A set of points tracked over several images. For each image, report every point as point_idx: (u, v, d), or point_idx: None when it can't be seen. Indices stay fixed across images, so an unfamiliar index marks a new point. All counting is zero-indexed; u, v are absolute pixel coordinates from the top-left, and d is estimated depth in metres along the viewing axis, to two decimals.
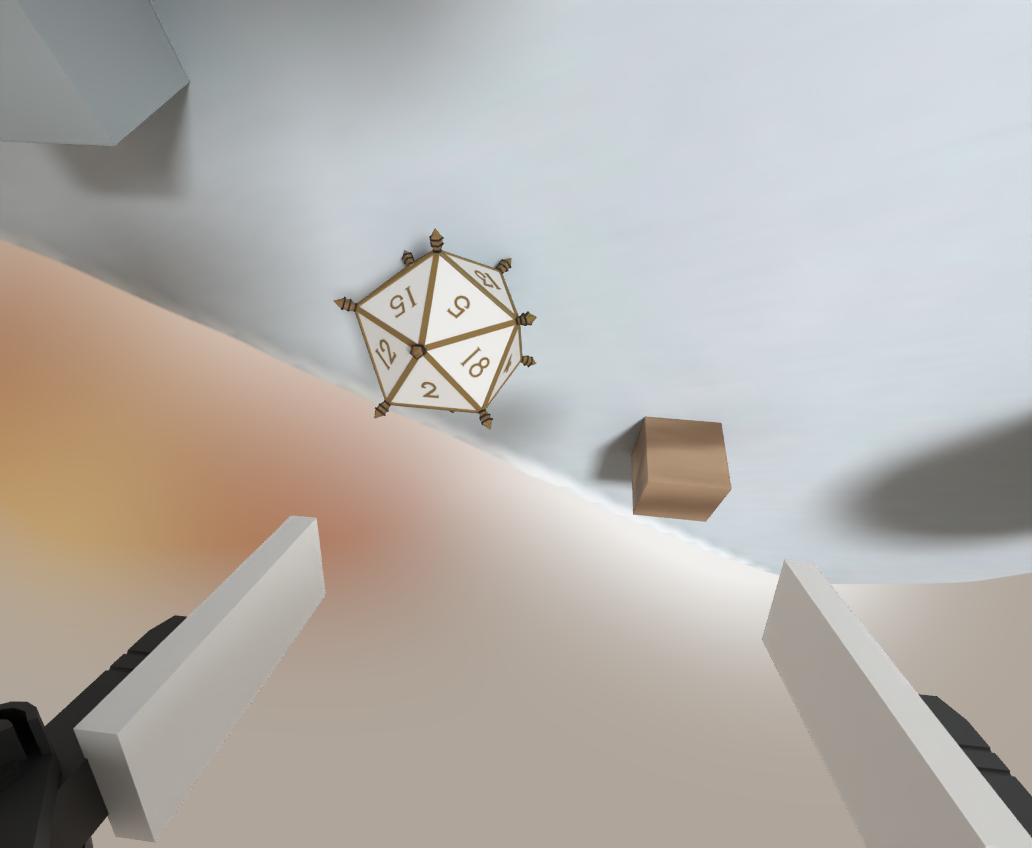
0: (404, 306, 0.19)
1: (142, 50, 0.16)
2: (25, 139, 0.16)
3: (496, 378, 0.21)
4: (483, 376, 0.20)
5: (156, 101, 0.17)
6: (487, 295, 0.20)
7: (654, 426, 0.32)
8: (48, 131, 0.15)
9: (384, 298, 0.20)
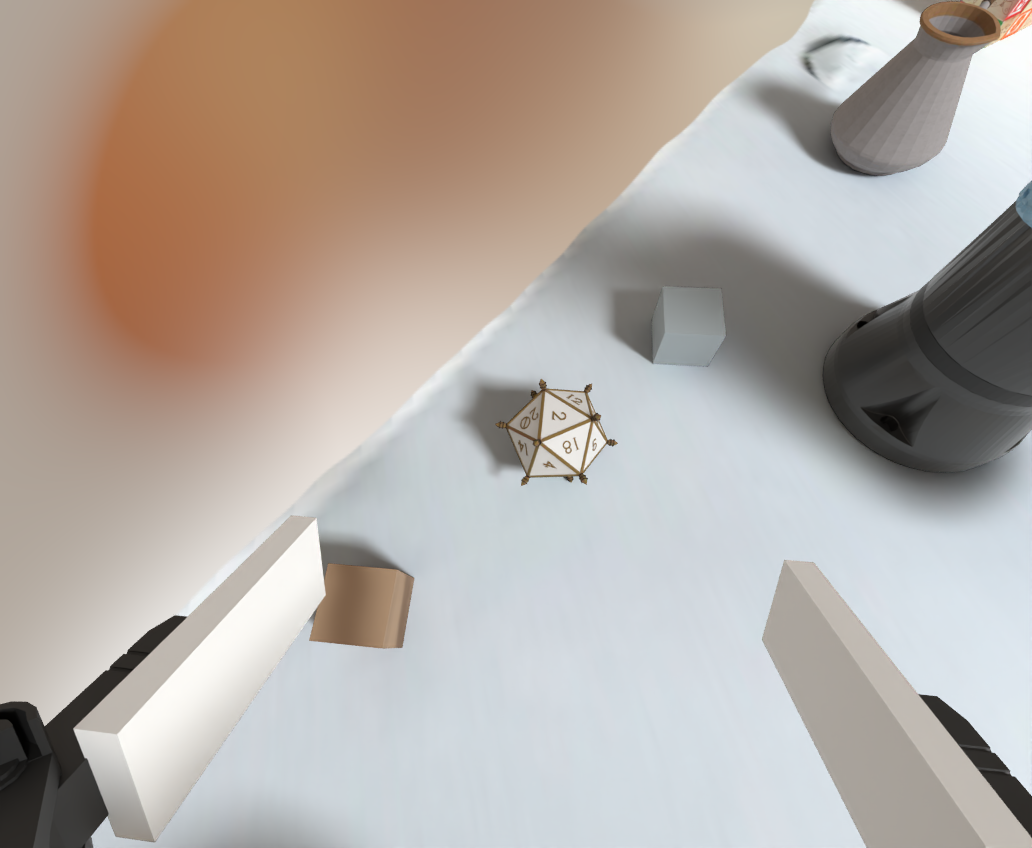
0: None
1: (672, 355, 0.43)
2: (664, 303, 0.42)
3: (555, 455, 0.35)
4: (560, 448, 0.35)
5: (660, 351, 0.43)
6: (592, 461, 0.37)
7: (410, 584, 0.37)
8: (668, 313, 0.41)
9: (592, 408, 0.38)
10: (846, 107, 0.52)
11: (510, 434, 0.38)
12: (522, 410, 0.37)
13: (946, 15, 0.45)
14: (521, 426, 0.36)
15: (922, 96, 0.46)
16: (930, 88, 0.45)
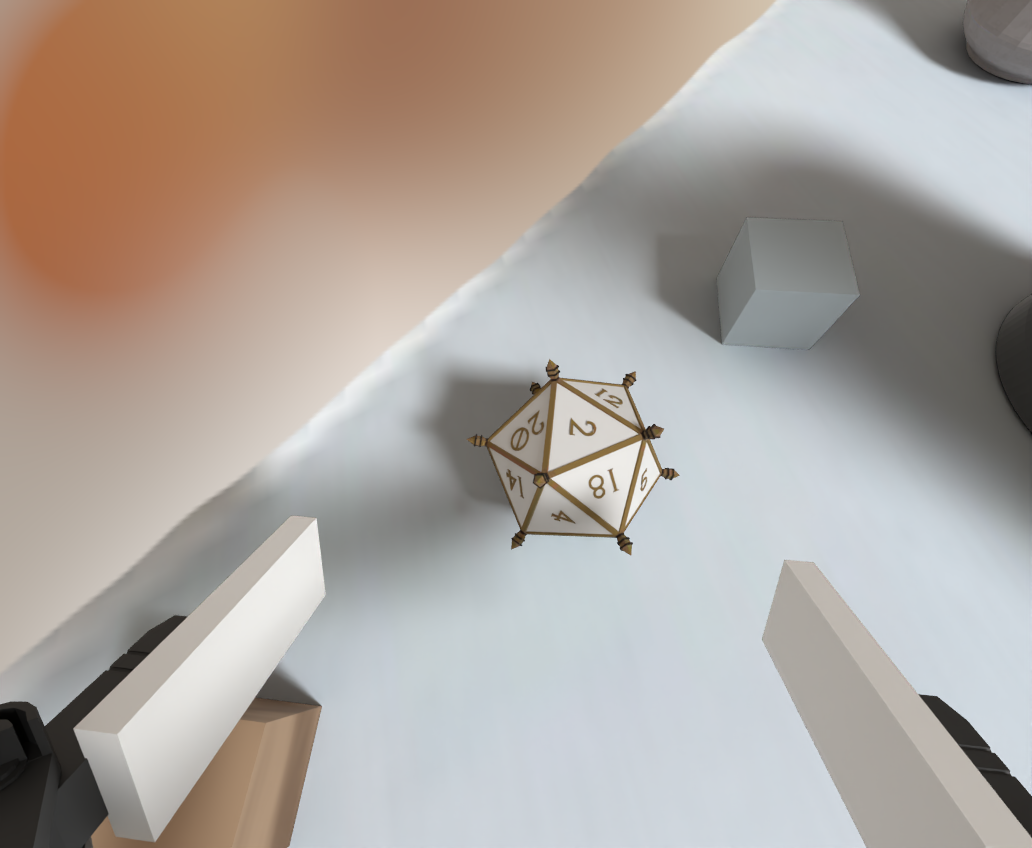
0: None
1: (757, 331, 0.27)
2: (751, 244, 0.25)
3: (575, 502, 0.19)
4: (584, 488, 0.19)
5: (739, 322, 0.27)
6: (638, 509, 0.20)
7: (311, 722, 0.21)
8: (759, 259, 0.25)
9: None
10: None
11: (493, 458, 0.21)
12: (515, 416, 0.21)
13: None
14: (512, 445, 0.20)
15: None
16: None
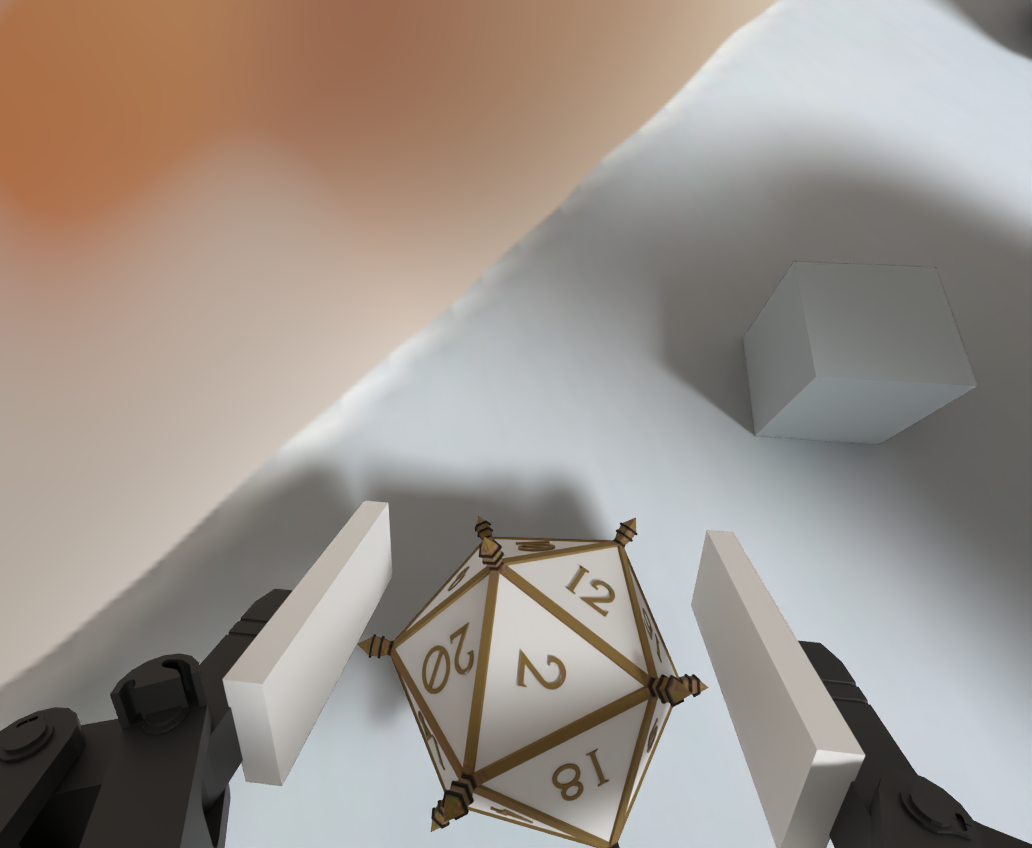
0: (651, 636, 0.12)
1: (809, 423, 0.19)
2: (804, 303, 0.17)
3: (528, 813, 0.10)
4: (545, 787, 0.10)
5: (783, 413, 0.18)
6: (643, 777, 0.12)
7: None
8: (817, 327, 0.17)
9: (639, 596, 0.13)
10: None
11: (402, 676, 0.13)
12: (433, 616, 0.12)
13: None
14: (426, 676, 0.12)
15: None
16: None
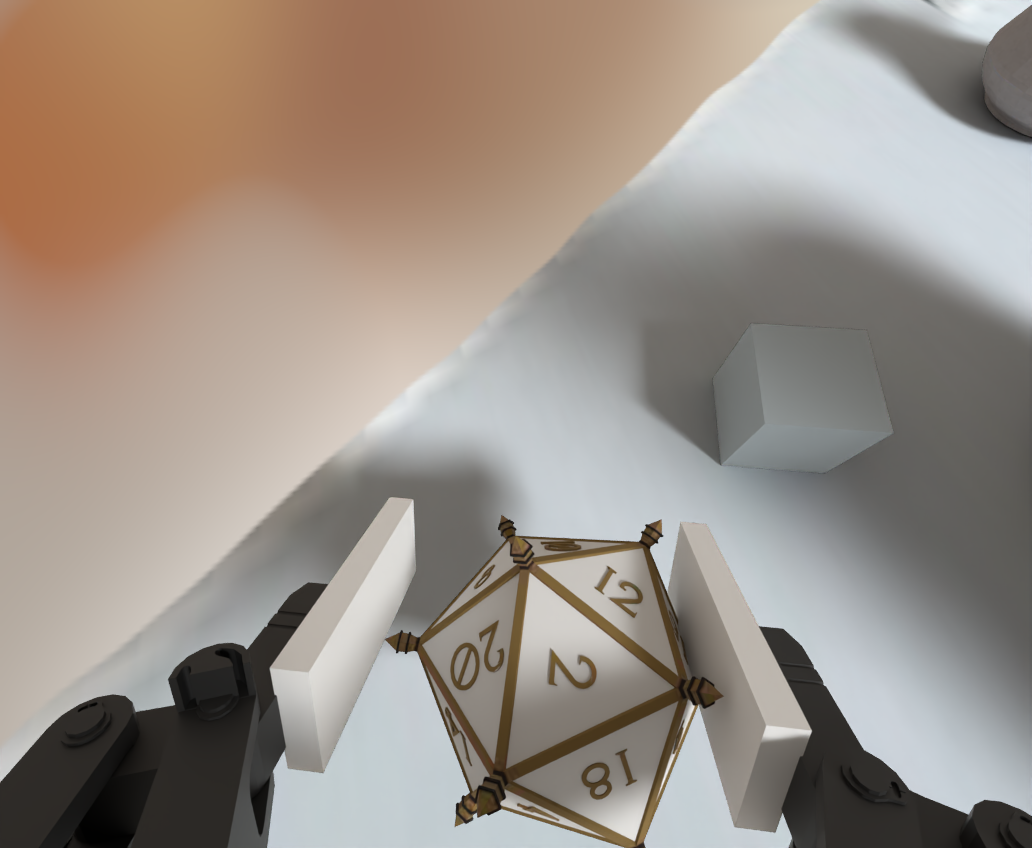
0: (677, 638, 0.12)
1: (764, 456, 0.22)
2: (758, 360, 0.21)
3: (557, 811, 0.10)
4: (574, 786, 0.10)
5: (742, 449, 0.22)
6: (668, 778, 0.12)
7: None
8: (768, 381, 0.20)
9: (665, 598, 0.13)
10: (1022, 28, 0.31)
11: (428, 672, 0.13)
12: (461, 613, 0.12)
13: None
14: (454, 672, 0.12)
15: None
16: None
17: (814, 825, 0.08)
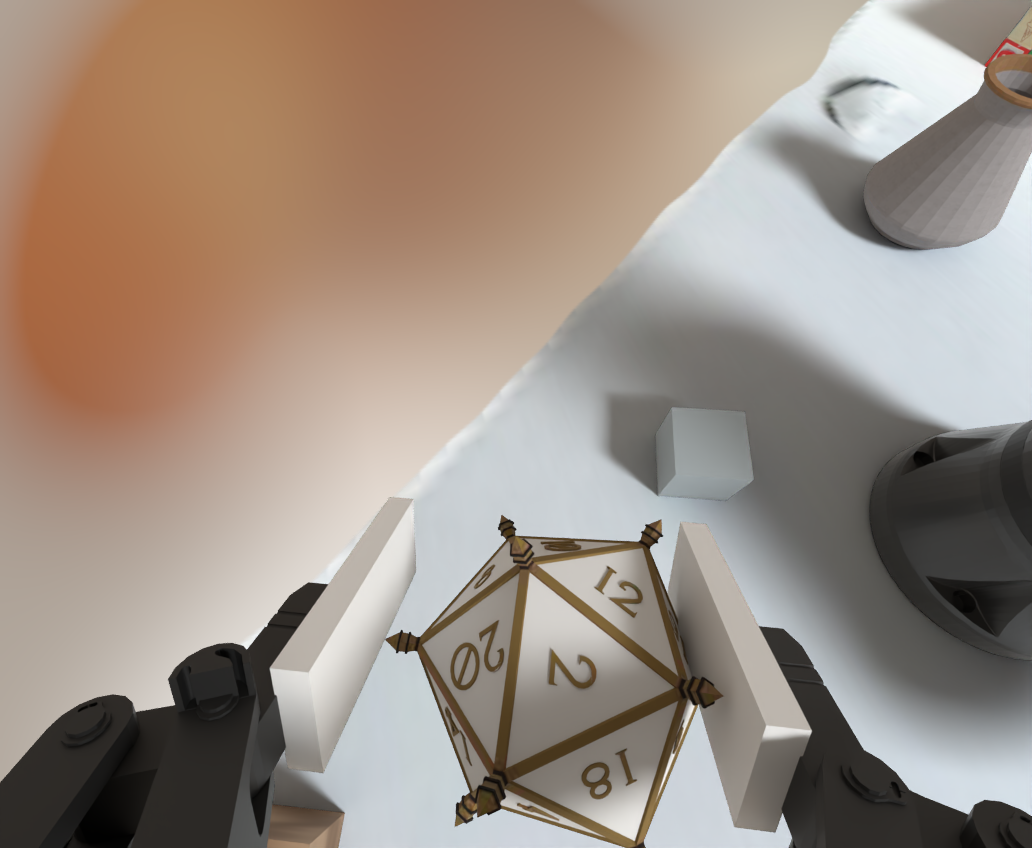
0: (677, 637, 0.12)
1: (683, 491, 0.34)
2: (674, 432, 0.33)
3: (557, 810, 0.10)
4: (573, 786, 0.10)
5: (667, 487, 0.34)
6: (668, 778, 0.12)
7: (337, 829, 0.28)
8: (679, 447, 0.32)
9: (665, 598, 0.13)
10: (884, 171, 0.43)
11: (428, 672, 0.13)
12: (461, 613, 0.12)
13: (1014, 70, 0.37)
14: (454, 672, 0.12)
15: (983, 166, 0.38)
16: (994, 157, 0.37)
17: (814, 825, 0.08)
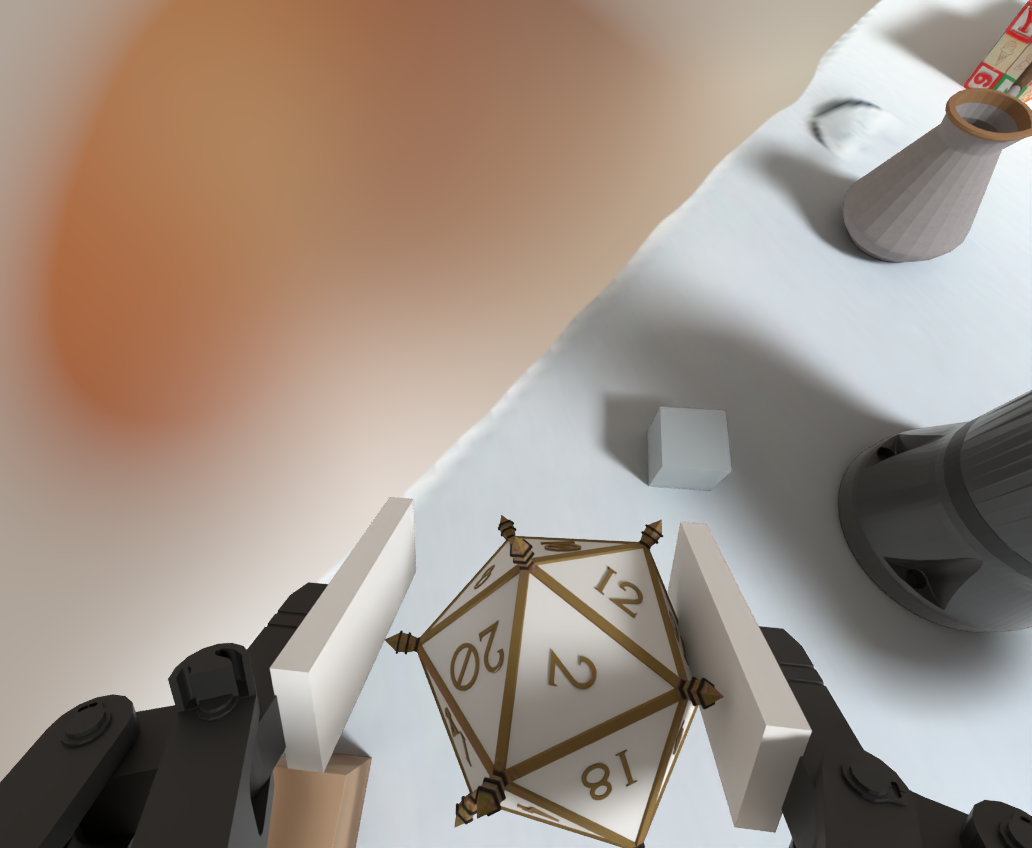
0: (677, 638, 0.12)
1: (671, 481, 0.39)
2: (662, 429, 0.37)
3: (557, 811, 0.10)
4: (574, 787, 0.10)
5: (656, 478, 0.38)
6: (668, 779, 0.12)
7: (366, 770, 0.32)
8: (666, 442, 0.36)
9: (665, 598, 0.13)
10: (860, 191, 0.47)
11: (428, 673, 0.13)
12: (461, 614, 0.12)
13: (974, 102, 0.41)
14: (454, 672, 0.12)
15: (947, 189, 0.42)
16: (956, 181, 0.41)
17: (814, 825, 0.08)
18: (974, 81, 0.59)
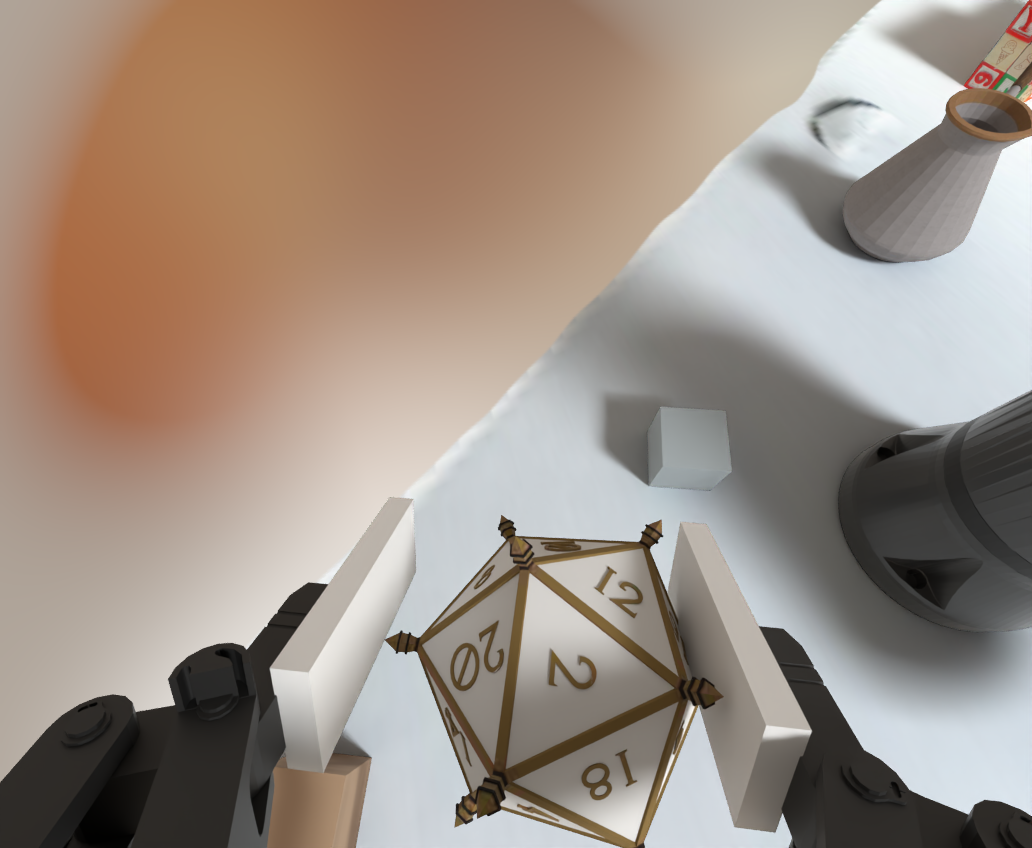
0: (677, 638, 0.12)
1: (671, 482, 0.39)
2: (662, 429, 0.37)
3: (557, 811, 0.10)
4: (574, 787, 0.10)
5: (657, 478, 0.38)
6: (668, 779, 0.12)
7: (366, 770, 0.32)
8: (666, 442, 0.36)
9: (665, 598, 0.13)
10: (860, 191, 0.47)
11: (428, 673, 0.13)
12: (461, 614, 0.12)
13: (974, 102, 0.41)
14: (454, 672, 0.12)
15: (947, 189, 0.42)
16: (956, 181, 0.41)
17: (814, 825, 0.08)
18: (974, 80, 0.59)
